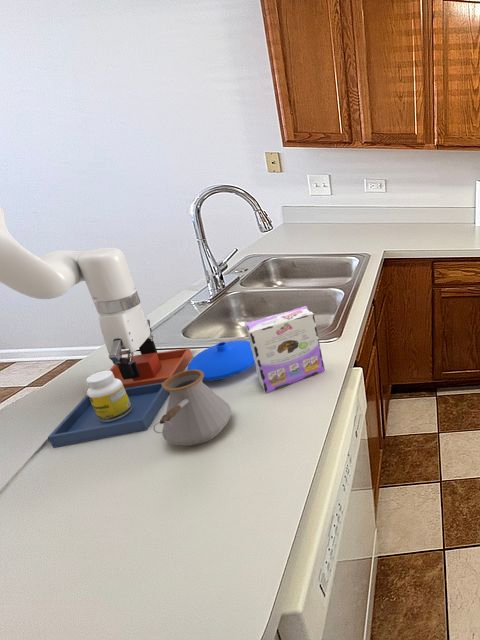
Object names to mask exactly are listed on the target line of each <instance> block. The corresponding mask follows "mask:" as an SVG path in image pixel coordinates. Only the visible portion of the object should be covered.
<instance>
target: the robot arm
mask: <svg viewBox="0 0 480 640" xmlns="http://www.w3.org/2000/svg"><path fill="white" fill-rule="evenodd" d="M126 259H127V258H126V256H125V254H124V252H123V251H122V250H121V249H120V248H116V247H101V248H100V247H99V248H94V249H90V250H88V249H87V250H79V249H78V250H75V249H58V250H53V251H49V252H47V253H45V254H43V255H41V256H40V257H39V256H37V255H36V254H34V253H33V252H31V251H30V250H28V249H26V248H25V247H24V246H22V245H21V244H20V243H19V242H18V241H17V240H16V239H15V238H14V236H12V234H11V233H10V231H9V228H8V227H7V223H6V215H5V210H4V208H3V206H2V205H1V204H0V283H1V284H3V285H5V286H6V287H8V288H10V289H11V290H13V291H16V292H18V293H19V294H21V295H25V296H27V297H29V298H33V299H37V300H52V299H57V298H59V297H61V296H63V295H65V294H66V293H67V292H68V291H70V290H71V289H72V288H73V287H74V286H76V285H77V284H79V283H82V282H85V285H86V287H87V289H88V292H89V295H90V297H91V300H92V302H93V305H94V307H95V310H96V312H97V314H98V315H99V316H98V320H99V327H100V331H101V334H102V338H103V341H104V344H105V347H106V350H107V353H108V358H109V360H110V361H112V363H113V365H114V364H116V366H118V368H119V370H120V373H121V375H122V378H123V379H124V380H126V379H132V378H139V377H140V372H139V369H138V367H137V364H136V362H133V356H134V355H135V354H134V353H135V352H137V351H138V350H139V352H140V355H142V354H149V353H157V354H158V353H159V352H158V350H157V347H156V343H155V340H154V336H153V334H152V332H153V330H152V328H151V321H150V319H148V318H147V316H146V314H145V312H144V310H143V308H142V302H141V299H140V296H139V293H138V290H137V288H136V285H135V282H134V279H133V276H132V274H131V270H130V268H129V265H128V262H127V260H126ZM125 355H127V357H128V359H126V358H125V357H124V356H125Z"/></svg>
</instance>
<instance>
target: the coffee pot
mask: <svg viewBox="0 0 480 640" xmlns="http://www.w3.org/2000/svg"><path fill="white" fill-rule="evenodd" d="M203 377H204V373H203V372H202V371H201V370H196V369H195V370H186V369H185V370H184V371H183V372H180V373H177V374H175V375H173V376H171V377H170V378H168V379H167V380H165V381H164V382H163V383H162V384H161V386H162V387H163V388H164V389H165V390H167V391H169V392H170V393H169V398H168V402H167V408H166V412H165V414H163V415H162V416H161V418H160V420H159V422H157V423H156V424H155V425H154V426H153V431H154V433H157V434H161V435H162V437H163V439H164V440H165V441H167V442H169V443H170V444H172V445H175V446H181V447H183V446H185V447H192V446H199V445H201V444H204V443H207V442H208V441H211V440H212V439H214V438H215V437H217V436H218V435H219V434H220V433H221V431H222V430H223V429H224V428H225V427H226V425H227V424H228V423H229V420H230V419H231V415H232V407H231V406H230V405H229V404H228V402H226V401H225V400H224V399H223V398H222V397H220V396H219V395H218V394H217V393H216V392H214V390H212V389H211V388H210V387H209V386H207V384H205V383H204V382H203V380H202V379H203ZM157 425H162V431H157V430H156V429H155V428H156V426H157Z"/></svg>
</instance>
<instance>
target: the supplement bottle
mask: <svg viewBox="0 0 480 640" xmlns="http://www.w3.org/2000/svg"><path fill="white" fill-rule="evenodd" d="M109 370H110V369H109ZM109 370H101V371H98V372H94V373H93V374H90V375H89V376H88V377H87V378H86V380H85V381H86V383H87V386H88V387H89V388H88V389H87V391H86V395H88V397H89V399H90V401H91V403H92V406H93V408H94V410H95V412H96V414H97V416H98V418H99V420H100V421H102V422H111V421H115V420H118V419H120V418H122V417H124V416H126V415H127V414H128V413H129V412H130V411H131V410H132V405H131V403H130V400H129V398H128V396H127V393H126V391H125V389H124V386H123V384H122V382H121V380H119V379H116V378H115V377H114V375H113V372H112V371H109Z"/></svg>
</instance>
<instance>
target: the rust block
mask: <svg viewBox="0 0 480 640" xmlns="http://www.w3.org/2000/svg"><path fill="white" fill-rule="evenodd" d="M133 356H134V357H133V362H136V364H137V367H138V369H139V372H140V377H139V378H132V380H133V381H134V380H140V379H146V378H153V377H155V376H156V375H157V373H158V372H159V370H160V369H161V368H162V367H161V364H160V361H159V358H158V356H157V353H149V354H142V355H141V354H136V355H135V354H134V355H133Z"/></svg>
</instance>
